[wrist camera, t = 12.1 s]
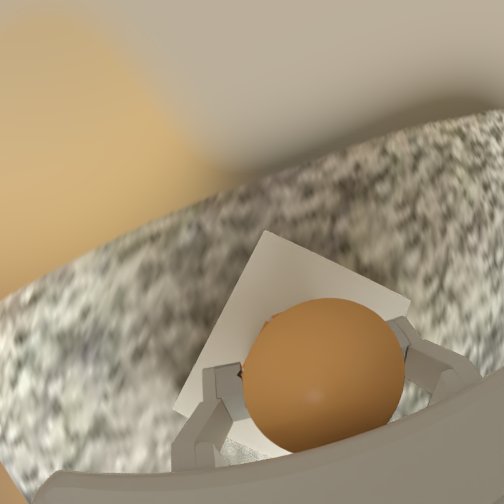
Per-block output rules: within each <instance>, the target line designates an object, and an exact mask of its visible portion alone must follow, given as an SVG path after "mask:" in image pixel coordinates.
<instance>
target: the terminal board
mask: <svg viewBox="0 0 504 504" xmlns="http://www.w3.org/2000/svg"><path fill="white" fill-rule="evenodd" d="M320 298H339V299H346V300H350V301H354V302H356V303H359V304H361V305H364V306H365V307H367V308H369V309H371V310H372V311H374V312H375V313H376V314H378V315H379V316H380V317H381V318H382V319H383V320H384V321H387V320H390V319H394V318H397V317H399V316H402V315H403V316H406V314H407V311H408V308H409V306H410V303H411V300H410V299H408V298H406V297H404V296H402V295H400V294H398V293H396V292H394V291H392V290H390V289H388V288H386V287H384V286H382V285H380V284H378V283H376V282H374V281H372V280H370V279H368V278H366V277H364V276H361V275H359V274H357V273H355V272H353V271H351V270H349V269H347V268H345V267H343V266H341V265H339V264H337V263H335V262H333V261H331V260H329V259H326V258H324V257H322V256H320V255H318V254H316V253H314V252H312V251H310V250H308V249H306V248H303V247H301V246H299V245H297V244H295V243H293V242H291V241H289V240H286V239H284V238H282V237H280V236H278V235H276V234H274V233H272V232H269V231H267V230H264V232H263V234H262V236H261V238H260V239H259V241H258V243H257V245H256V247H255V249H254V251H253V253H252V255H251V257H250V259H249V261H248V263H247V265H246V267H245V269H244V270H243V272H242V274H241V276H240V278H239V280H238V282H237V284H236V286H235V288H234V290H233V292H232V294H231V296H230V298H229V299H228V301H227V303H226V305H225V307H224V309H223V311H222V313H221V315H220V317H219V319H218V321H217V323H216V325H215V326H214V328H213V330H212V332H211V334H210V336H209V338H208V340H207V342H206V344H205V346H204V348H203V350H202V352H201V354H200V355H199V357H198V359H197V361H196V363H195V365H194V367H193V369H192V371H191V373H190V375H189V377H188V379H187V381H186V382H185V384H184V386H183V388H182V390H181V392H180V394H179V396H178V398H177V400H176V402H175V404H174V406H173V408H172V409H173V410H175V411H177V412H178V413H180V414H182V415H184V416H185V417H187V418H190V416H191V415H192V413H193V412H194V410H195V409H196V407H197V406H198V404H199V403H200V402H203V387H202V370H203V368H209V367H214V366H219V365H225V364H231V363H236V362H240V363H241V366H243V364H244V362H245V360H246V358H247V356H248V354H249V351H250V349H251V347H252V345H253V343H254V341H255V340H256V338H257V336H258V335H259V333H260V331H261V329H262V327H263V325H264V323H265V321H268V322H269V321H270V318H271V316H272V315H275V314H278V313H281V312H284V311H285V310H287V309H289V308H290V307H293V306H295V305H297V304H300V303H302V302H306V301H309V300H313V299H320ZM242 369H243V370H244V368H242ZM226 438H228V439H230V440H232V441H235V442H237V443H239V444H241V445H243V446H245V447H248V448H250V449H252V450H254V451H257V452H259V453H261V454H264V455H266V456H269V457H271V458H275V457H280V456H284V455H289V454H293V453H291V452H289V451H286V450H284V449H282V448H280V447H279V446H277V445H276V444H274V443H273V442H271V441H270V440H269V439H268V438H266V437H265V436H264V435H263V434H262V433H261V431H260V430H259V429H258V428H257V427H256V425H255V423H254V422H253V420H252V419H251V418H249V419H244V420H239V421H235V422H233V425H232V427H231V429H230V431H229V433H228V435H227V437H226Z"/></svg>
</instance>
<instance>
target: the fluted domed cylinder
mask: <svg viewBox="0 0 504 504" xmlns="http://www.w3.org/2000/svg"><path fill="white" fill-rule="evenodd" d="M242 368H244V370H243V372H242V374H241V376H242V379H243V393H244V400H245V403H246V407H247V410H248V412H249V414H250V417H251V419H252V420H253V422H254V423H255V425H256V427H257V428H258V429H259V430H260V431H261V433H262V434H263V435H264V436H265V437H266V438H268V439H269V440H270V441H271V442H273V443H274V444H276V445H277V446H279V447H280V448H282V449H284V450H286V451H289V452H291V453H297V452H301V451H305V450H309V449H312V448H316V447H320V446H323V445H327V444H330V443H333V442H337V441H340V440H343V439H346V438H349V437H352V436H355V435H358V434H361V433H364V432H367V431H370V430H373V429H375V428H378V427H381V426H383V425H386V424H387V422H388V421H389V420H390V418H391V417H392V415H393V413H394V412H395V410H396V408H397V406H398V403H399V401H400V398H401V395H402V391H403V387H404V380H405V365H404V358H403V353H402V349H401V347H400V344H399V341H398V339H397V337H396V336H395V334H394V332H393V331H392V329H391V328H390V327H389V325H388V324H387V323H386V322H385V321H384V320H383V319H382V318H381V317H380V316H379V315H378V314H376V313H375V312H374V311H372V310H371V309H369V308H367V307H365V306H364V305H361V304H359V303H356V302H354V301H350V300H346V299H339V298H320V299H313V300H309V301H306V302H302V303H300V304H297V305H295V306H293V307H290V308H289V309H287V310H285V311H284V312H281V313H278V314H275V315H272V316H271V318H270V321H269V322H268V321H265V323H264V325H263V327H262V329H261V331H260V333H259V335H258V336H257V338H256V340H255V341H254V343H253V345H252V347H251V349H250V351H249V354H248V356H247V358H246V360H245V362H244V364H243V366H242Z"/></svg>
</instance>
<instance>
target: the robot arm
mask: <svg viewBox="0 0 504 504" xmlns="http://www.w3.org/2000/svg"><path fill="white" fill-rule="evenodd" d="M385 322H386V323H387V324H388V325H389V327H390V328H391V329H392V331H393V332H394V334H395V336H396V337H397V339H398V341H399V344H400V347H401V349H402V353H403V358H404V365H405V377H406V378H407V379H409V380H410V381H412V382H413V383H415V384H417V385H418V386H420V387H421V388H423V389H424V390H426V391H428V392H429V393H431V394H432V397H431V400H430V402H429V404H428V406H427V407H426V408H424V409H422V410H420V411H417V412H415V413H413V414H410V415H408V416H406V417H403V418H401V419H399V420H396V421H394V422H391V423H388V424H386V425H383V426H381V427H378V428H375V429H373V430H370V431H367V432H364V433H361V434H358V435H355V436H352V437H349V438H346V439H343V440H340V441H337V442H333V443H330V444H327V445H323V446H320V447H316V448H312V449H309V450H305V451H301V452H297V453H293V454H289V455H284V456H280V457H275V458H270V459H266V460H260V461H255V462H250V463H244V464H238V465H231V466H229V464H228V463H227V462H226V460H225V459H224V458H223V456H222V455H221V454H220V450H221V448H222V446H223V444H224V442H225V439H226V437H227V435H228V433H229V431H230V429H231V427H232V425H233V422H235V421H239V420H244V419H249V418H251V417H250V414H249V412H248V410H247V407H246V403H245V400H244V393H243V379H242V376H241V374H242V372H243V369H242V366H241V363H240V362H236V363H231V364H225V365H219V366H214V367H209V368H203V370H202V387H203V402H200V403H199V404H198V406H197V407H196V409H195V410H194V412H193V413H192V415H191V416H190V418H189V419H188V421H187V422H186V424H185V425H184V427H183V428H182V430H181V431H180V433H179V434H178V436H177V437H176V439H175V440H174V442H173V443H172V451H171V468H172V472H162V473H94V472H79V471H68V470H58V471H56V472H55V473H53V474H52V475H51V476H50V477H49V478H48V479H47V480H46V481H45V482H44V483H43V484H42V485H41V486H40V487H39V488H38V489H37V491H36V492H35V494H34V497H33V500H32V503H31V504H504V366H502V367H501V368H499V369H497V370H496V371H494V372H492V373H491V374H489V375H487V376H486V377H484V378H482V376H481V375H480V373H479V372H478V371H477V369H476V368H475V366H474V365H473V364H472V362H471V361H470V360H469V358H467V357H464V356H462V355H460V354H457V353H455V352H453V351H450V350H448V349H446V348H444V347H441V346H439V345H437V344H434V343H432V342H430V341H428V340H422V339H421V338H420V336H419V335H418V334H417V332H416V331H415V330H414V328H413V327H412V325H411V324H410V323H409V321H408V320H407V319H406V317H405V316H403V315H402V316H399V317H397V318H394V319H390V320H387V321H385Z"/></svg>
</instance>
